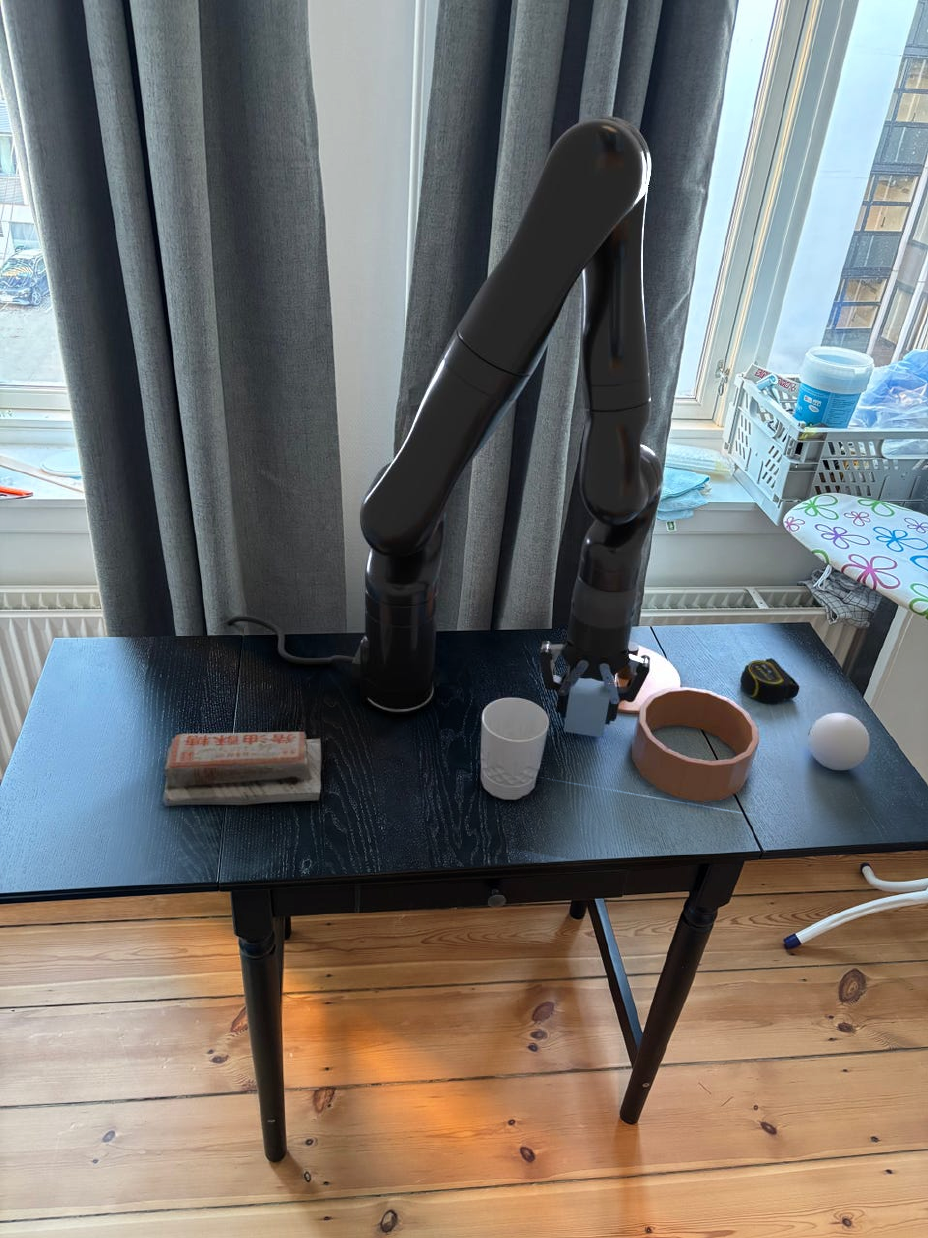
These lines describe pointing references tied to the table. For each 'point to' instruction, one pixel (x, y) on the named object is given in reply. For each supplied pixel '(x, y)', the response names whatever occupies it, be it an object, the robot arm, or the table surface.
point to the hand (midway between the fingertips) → (585, 716)
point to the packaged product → (242, 768)
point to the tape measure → (768, 682)
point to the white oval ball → (838, 741)
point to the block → (587, 708)
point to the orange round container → (690, 773)
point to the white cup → (512, 746)
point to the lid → (648, 678)
